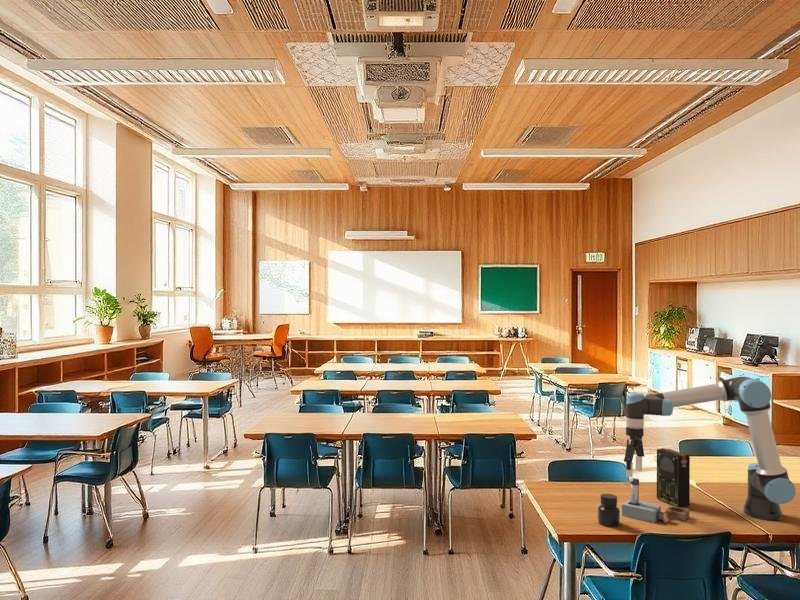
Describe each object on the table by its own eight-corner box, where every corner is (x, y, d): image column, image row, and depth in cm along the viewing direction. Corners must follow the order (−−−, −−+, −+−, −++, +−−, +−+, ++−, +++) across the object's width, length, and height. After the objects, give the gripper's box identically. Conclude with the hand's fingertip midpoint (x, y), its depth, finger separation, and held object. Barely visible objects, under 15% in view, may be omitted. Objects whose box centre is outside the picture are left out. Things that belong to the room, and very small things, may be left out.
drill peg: (640, 514, 268) (640, 479, 268) (637, 516, 265) (637, 481, 265) (631, 512, 270) (631, 477, 270) (629, 514, 267) (629, 479, 267)
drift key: (669, 520, 260) (669, 511, 260) (666, 522, 257) (666, 513, 257) (648, 515, 265) (648, 506, 266) (645, 518, 262) (645, 509, 262)
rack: (689, 517, 265) (689, 509, 265) (684, 522, 258) (684, 514, 258) (670, 513, 270) (670, 505, 270) (665, 517, 264) (665, 510, 264)
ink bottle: (615, 519, 260) (615, 492, 260) (623, 527, 251) (624, 499, 252) (594, 519, 260) (594, 492, 260) (601, 527, 251) (601, 499, 251)
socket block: (660, 516, 265) (660, 505, 265) (654, 522, 257) (654, 511, 257) (629, 509, 274) (629, 499, 274) (621, 515, 266) (622, 504, 266)
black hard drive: (654, 498, 290) (654, 448, 291) (668, 497, 293) (668, 447, 293) (677, 509, 275) (677, 455, 276) (692, 507, 278) (692, 454, 278)
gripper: (635, 422, 280) (634, 466, 280) (617, 429, 261) (616, 477, 260) (651, 424, 275) (650, 469, 275) (634, 432, 256) (633, 481, 256)
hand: (634, 473), depth 268 cm, fingers open, 13 cm apart
